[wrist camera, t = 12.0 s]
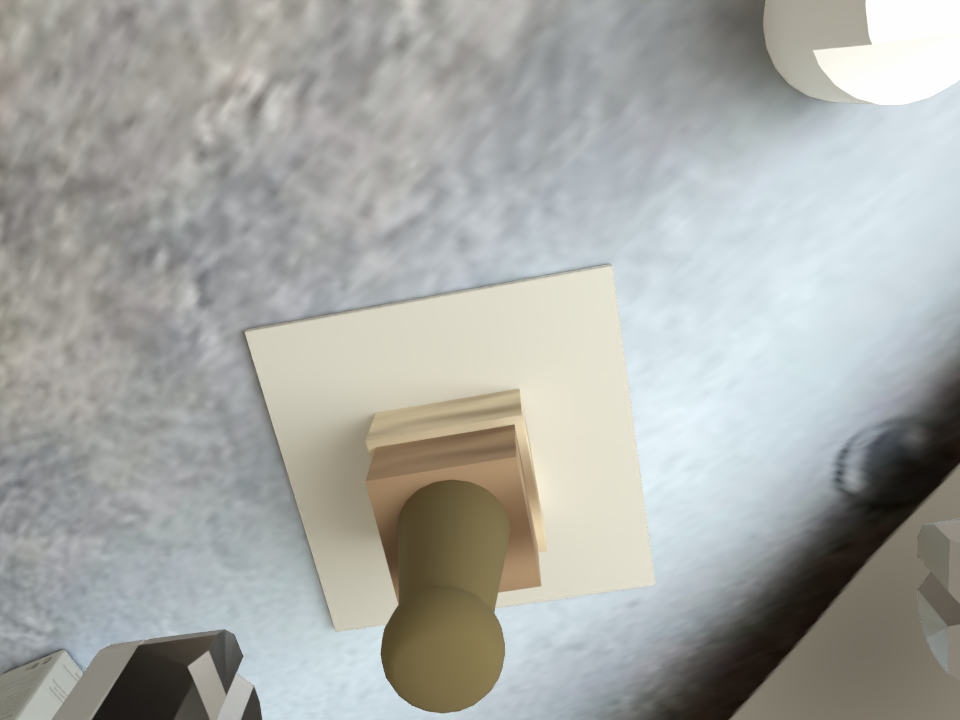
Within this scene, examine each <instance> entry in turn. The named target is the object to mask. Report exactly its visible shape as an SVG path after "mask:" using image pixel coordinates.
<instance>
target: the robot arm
mask: <svg viewBox="0 0 960 720" xmlns="http://www.w3.org/2000/svg"><path fill="white" fill-rule="evenodd" d="M918 558H919V559H920V560H921V561H922V562H923V563H924V564H925V566H926V567H927V568H928V569H929V570H930V571H931V572H930V574H929V575H928V576H927V578H926V579H925V580H924V581H923V583H922V584H921V585H920V587H919V588H918V610H919V617H920V620H921V624H922V628H923V631H924V635H925V638H926V640H927V642H928V644H929V646H930V648H931V650H932V652H933V654H934V656H935V657H936V659H937V660H938V662H939V663H940V664H941V665H942V667H943V668H944V670H945V671H946V672H947V674H949V675H950V676H953V677H955V678H956V679H958V680H960V519H956V520H949V521H944V522H937V523H931V524H925V525H922V527H921V530H920V533H919V535H918ZM242 658H243V654H242V652H241V650H240V647H239V645H238V642H237V640H236V637H235V635H234V634H233V633H231V632H229V631H227V630H225V629H224V630H216V631H208V632H200V633H192V634H185V635H177V636H169V637H161V638H153V639H149V640H139V641H133V642H126V643H119V644H113V645H110V646H107V647H105V648H103V649H101V650H99V652H98V653H97V655H96V656H95V658H94V659H93V660H92V662H91V663H90V665H89V666H88V668H87V669H86V670H85V672H84V673H83V675H82V676H81V678H80V679H79V681H78V682H77V683H76V685H75V686H74V688H73V689H72V691H71V692H70V693H69V695H68V696H67V698H66V699H65V701H64V702H63V704H62V705H61V706H60V708H59V709H58V711H57V712H56V714H55V715H54V716H53V718H52V719H51V720H262V715H261V708H260V702H259V699H258V696H257V693H256V690H255V687H254V685H252V684H251V683H250V682H248V681H247V680H246V679H244V678H243V677H242V676H240V675H239V674H238V673H236V672H237V670H238V668H239V665H240V663H241V660H242Z"/></svg>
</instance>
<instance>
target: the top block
mask: <svg viewBox="0 0 960 720" xmlns="http://www.w3.org/2000/svg"><path fill="white" fill-rule="evenodd" d="M452 479H453V480H460V481H468V482H472V483H474V484H476V485H479V486H481V487H483V488H485V489H487V490H488V491H489V492H491V493H492V494H493V495H494V496H495V497H496V498H497V499H499V500H500V502H501V504H502V505H503V507H504V509H505V510H506V512H507V514H508V518H509V524H510V529H511V530H510V536H509V541H508V547H507V552H506V557H505V562H504V566H503V571H502V576H501V581H500V586H499V591H498V593H500V592H506V591H513V590H520V589H527V588H533V587H540V586H541V576H540V565H539V554H538V544H537V539H536V534H535V529H534V524H533V518H532V513H531V508H530V503H529V497H528V492H527V487H526V482H525V477H524V471H523V466H522V461H521V456H520V450H519V445H518V440H517V435H516V429H515V425H508V426H502V427H496V428H490V429H484V430H478V431H472V432H466V433H460V434H454V435H448V436H442V437H436V438H430V439H424V440H418V441H412V442H406V443H400V444H394V445H388V446H382V447H376V449H375V453H374V456H373V459H372V462H371V465H370V468H369V471H368V474H367V477H366V480H365V482H366V486H367V490H368V494H369V497H370V501H371V505H372V509H373V512H374V516H375V520H376V523H377V527H378V531H379V535H380V538H381V542H382V546H383V550H384V553H385V557H386V561H387V564H388V568H389V572H390V576H391V579H392V583H393V587H394V591H395V594H396V598H397V602H398V605H399V588H398V539H397V529H398V520H399V514H400V512H401V510H402V508H403V507H404V505H405V503H406V501H407V500H408V499H409V498H410V497H411V496H412V495H413V494H414V493H415V492H416V491H418V490H419V489H421V488H423V487H425V486H427V485H429V484H431V483H433V482H438V481H445V480H452Z"/></svg>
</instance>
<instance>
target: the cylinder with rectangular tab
mask: <svg viewBox="0 0 960 720" xmlns="http://www.w3.org/2000/svg"><path fill="white" fill-rule="evenodd" d="M763 29H764V36H765V43H766V48H767V51H768V53H769V55H770V57H771V60H772V62H773V64H774V66H775V69H776V70H777V71H778V72H779V73H780V74H781V76H782V77H783V78H784V79H785V80H786V81H787V83H788V84H789V85H791V86H792V87H794V88H795V89H797V90H799V91H800V92H802V93H803V94H805V95H806V96H809V97H813V98H817V99H820V100H824V101H829V102H845V103H861V104H877V105H885V104H907V103H910V102H914V101H917V100H921V99H925V98H928V97H931V96H933V95H934V94H936V93H938V92H940V91H942V90H943V89H945V88H947V87H949V86H951V85H952V84H954V83H955V82H957V81H958V80H959V79H960V0H765V8H764V18H763Z"/></svg>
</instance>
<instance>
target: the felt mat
mask: <svg viewBox="0 0 960 720" xmlns="http://www.w3.org/2000/svg"><path fill="white" fill-rule="evenodd" d="M245 335H246V338H247V342H248V345H249V348H250V352H251V355H252V358H253V361H254V365H255V368H256V371H257V375H258V378H259V381H260V384H261V388H262V391H263V394H264V398H265V401H266V404H267V407H268V411H269V414H270V417H271V421H272V424H273V427H274V430H275V434H276V437H277V440H278V444H279V447H280V450H281V453H282V457H283V460H284V463H285V467H286V470H287V473H288V476H289V480H290V483H291V486H292V490H293V493H294V496H295V499H296V503H297V506H298V509H299V513H300V516H301V519H302V522H303V526H304V529H305V532H306V536H307V539H308V542H309V545H310V549H311V552H312V555H313V559H314V562H315V565H316V568H317V572H318V575H319V578H320V581H321V585H322V588H323V591H324V595H325V598H326V601H327V604H328V608H329V611H330V614H331V618H332V621H333V624H334V627H335V631H336V632H339V631H345V630H352V629H359V628H366V627H373V626H379V625H386V624H387V623H388V621H389V619H390V617H391V616H392V614H393V612H394V611H395V609H396V608H397V606H398V602H397V598H396V594H395V591H394V587H393V583H392V579H391V576H390V572H389V568H388V564H387V561H386V557H385V553H384V550H383V546H382V542H381V538H380V535H379V531H378V527H377V523H376V520H375V516H374V512H373V509H372V505H371V501H370V497H369V494H368V490H367V486H366V482H365V480H366V477H367V474H368V471H369V468H370V465H371V460H370V456H369V452H368V448H367V444H366V438H367V436H368V433H369V430H370V427H371V425H372V422H373V419H374V416H375V413H378V412H384V411H390V410H395V409H401V408H407V407H413V406H419V405H425V404H431V403H437V402H443V401H449V400H455V399H460V398H466V397H472V396H478V395H484V394H490V393H496V392H502V391H508V390H514V389H519V388H520V393H521V398H522V404H523V409H524V415H525V420H526V425H527V431H528V436H529V442H530V447H531V452H532V458H533V463H534V468H535V474H536V479H537V485H538V490H539V495H540V501H541V506H542V511H543V517H544V526H545V535H546V544H547V551H545V552H538V554H539V565H540V576H541V586H540V587H533V588H527V589H520V590H513V591H506V592H500V593H498V596H497V601H496V606H495V608H502V607H509V606H515V605H522V604H529V603H536V602H542V601H549V600H556V599H563V598H570V597H576V596H583V595H590V594H597V593H604V592H610V591H617V590H624V589H631V588H638V587H644V586H651V585H655V578H654V571H653V563H652V556H651V549H650V541H649V534H648V527H647V519H646V512H645V504H644V497H643V490H642V482H641V475H640V468H639V460H638V453H637V445H636V438H635V431H634V423H633V416H632V409H631V401H630V394H629V386H628V379H627V372H626V364H625V357H624V350H623V342H622V335H621V327H620V320H619V313H618V305H617V298H616V291H615V283H614V276H613V268H612V265H611V264H606V265H600V266H595V267H589V268H584V269H578V270H573V271H567V272H562V273H556V274H551V275H545V276H539V277H534V278H528V279H523V280H517V281H512V282H506V283H501V284H495V285H490V286H484V287H479V288H473V289H467V290H462V291H456V292H451V293H445V294H440V295H434V296H429V297H423V298H418V299H412V300H406V301H401V302H395V303H390V304H384V305H379V306H373V307H368V308H362V309H357V310H351V311H346V312H340V313H334V314H329V315H323V316H318V317H312V318H307V319H301V320H296V321H290V322H285V323H279V324H274V325H268V326H262V327H257V328H251V329H247V330H246V331H245Z"/></svg>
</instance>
